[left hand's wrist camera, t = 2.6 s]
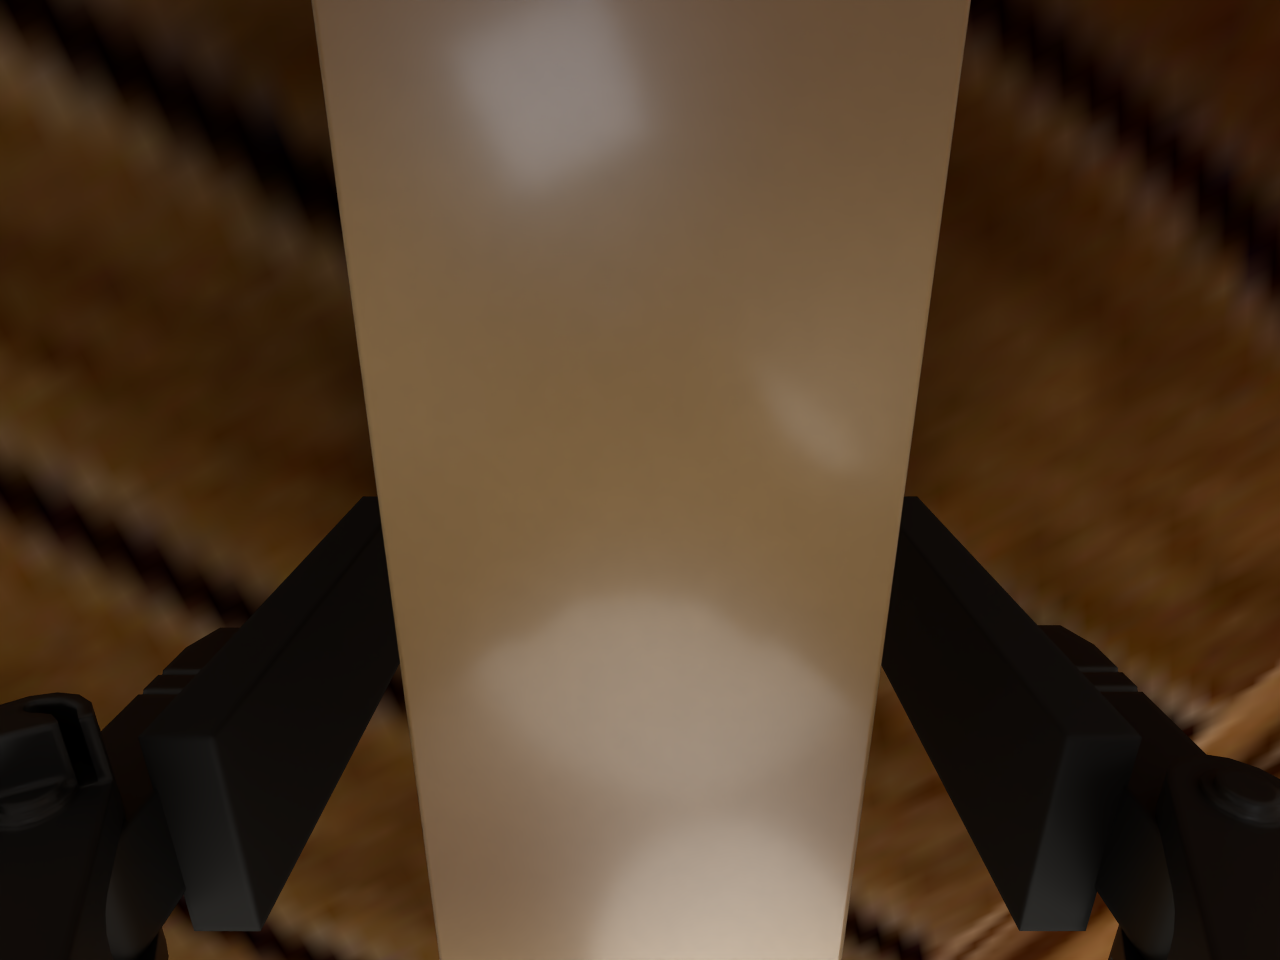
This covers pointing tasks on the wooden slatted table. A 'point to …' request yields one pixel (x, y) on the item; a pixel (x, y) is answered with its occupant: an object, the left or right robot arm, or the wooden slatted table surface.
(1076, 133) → the wooden slatted table surface
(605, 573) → the bar
